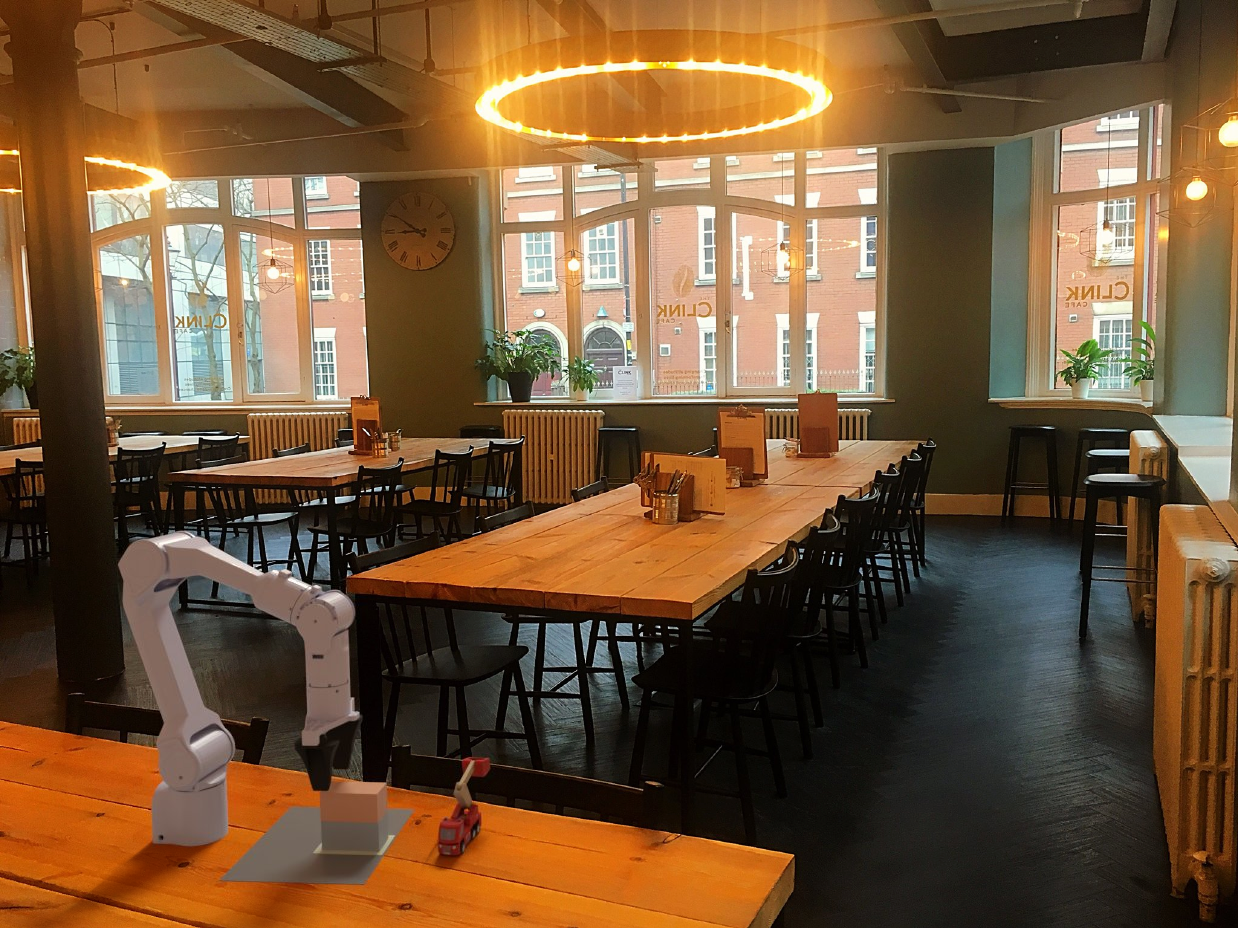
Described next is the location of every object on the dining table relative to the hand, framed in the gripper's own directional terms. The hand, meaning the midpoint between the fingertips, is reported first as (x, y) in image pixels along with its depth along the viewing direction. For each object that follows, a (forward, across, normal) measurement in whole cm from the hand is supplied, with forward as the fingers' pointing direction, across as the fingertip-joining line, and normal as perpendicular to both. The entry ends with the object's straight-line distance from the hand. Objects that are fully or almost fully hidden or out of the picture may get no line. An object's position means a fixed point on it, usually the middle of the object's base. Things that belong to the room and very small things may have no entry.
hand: (331, 779), depth 138 cm
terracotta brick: (+5, 0, -3) cm, 6 cm away
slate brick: (+9, 0, -3) cm, 10 cm away
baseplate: (+10, 0, +2) cm, 11 cm away
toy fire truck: (+11, +6, -17) cm, 21 cm away
